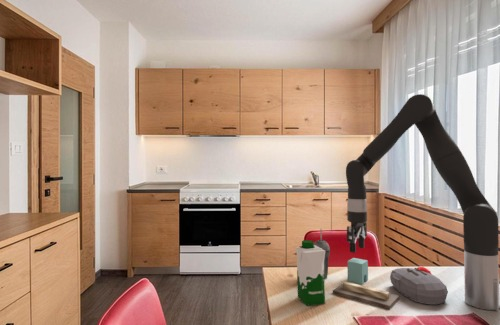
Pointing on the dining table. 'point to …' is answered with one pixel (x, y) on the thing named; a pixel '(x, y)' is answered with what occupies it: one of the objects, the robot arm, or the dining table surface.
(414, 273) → the soft grey pack
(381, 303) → the cleat board
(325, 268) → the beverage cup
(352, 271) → the saddle block
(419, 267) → the cap
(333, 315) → the dining table surface
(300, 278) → the milk carton
